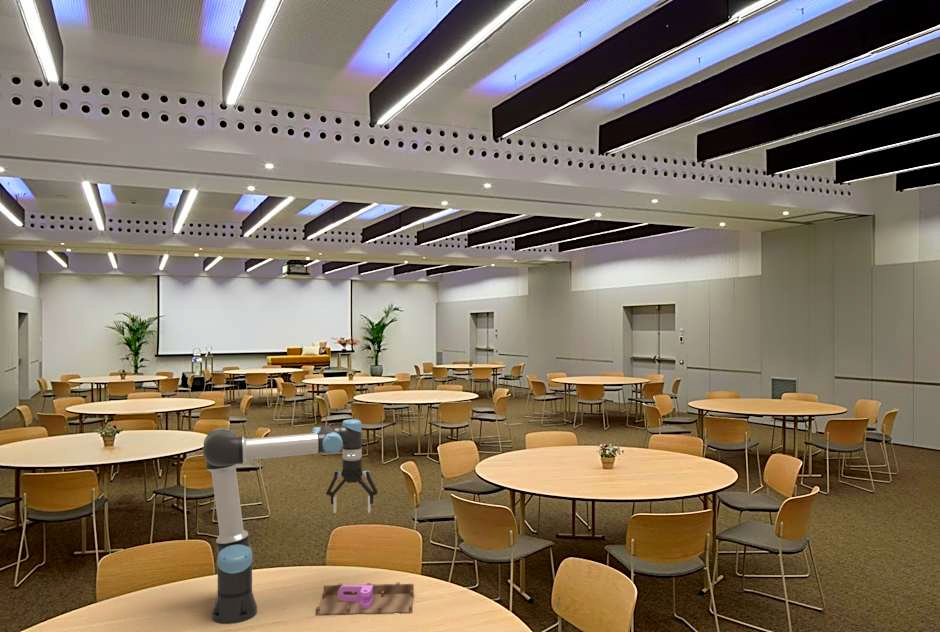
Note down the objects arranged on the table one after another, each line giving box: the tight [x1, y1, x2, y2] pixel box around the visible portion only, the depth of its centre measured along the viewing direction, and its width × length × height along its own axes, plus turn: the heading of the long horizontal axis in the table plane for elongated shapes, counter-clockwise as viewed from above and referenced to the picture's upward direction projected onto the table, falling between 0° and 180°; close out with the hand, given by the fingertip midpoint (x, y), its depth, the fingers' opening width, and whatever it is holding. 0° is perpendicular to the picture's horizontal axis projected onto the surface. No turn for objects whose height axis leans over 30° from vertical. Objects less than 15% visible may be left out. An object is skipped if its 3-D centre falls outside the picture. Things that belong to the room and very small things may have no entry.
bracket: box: [338, 584, 373, 608], centre depth 241 cm, size 13×6×7 cm
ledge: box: [315, 581, 415, 617], centre depth 242 cm, size 34×17×5 cm, turn 92°
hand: (352, 512), depth 262 cm, fingers open, 13 cm apart
